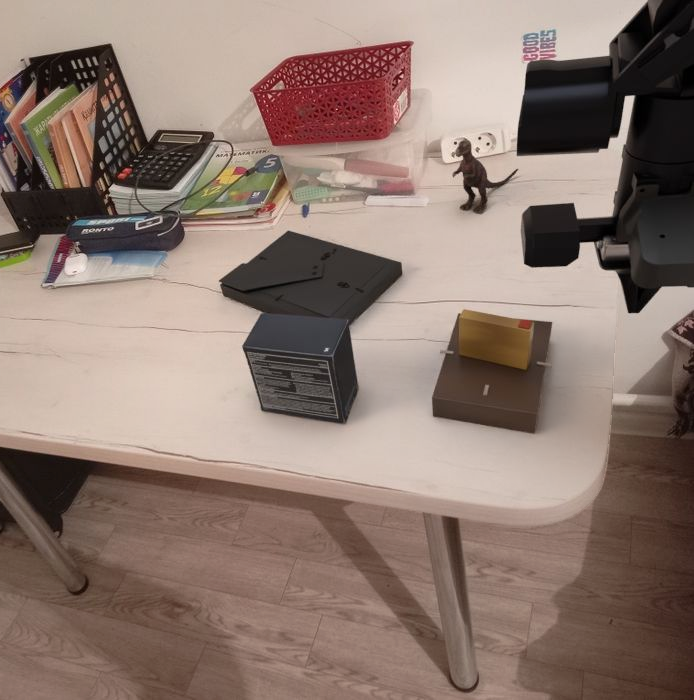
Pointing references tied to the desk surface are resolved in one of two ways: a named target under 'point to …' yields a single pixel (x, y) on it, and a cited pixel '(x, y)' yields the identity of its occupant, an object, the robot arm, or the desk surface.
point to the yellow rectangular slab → (496, 338)
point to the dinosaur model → (474, 177)
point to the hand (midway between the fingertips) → (632, 310)
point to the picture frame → (311, 279)
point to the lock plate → (492, 386)
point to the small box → (303, 366)
